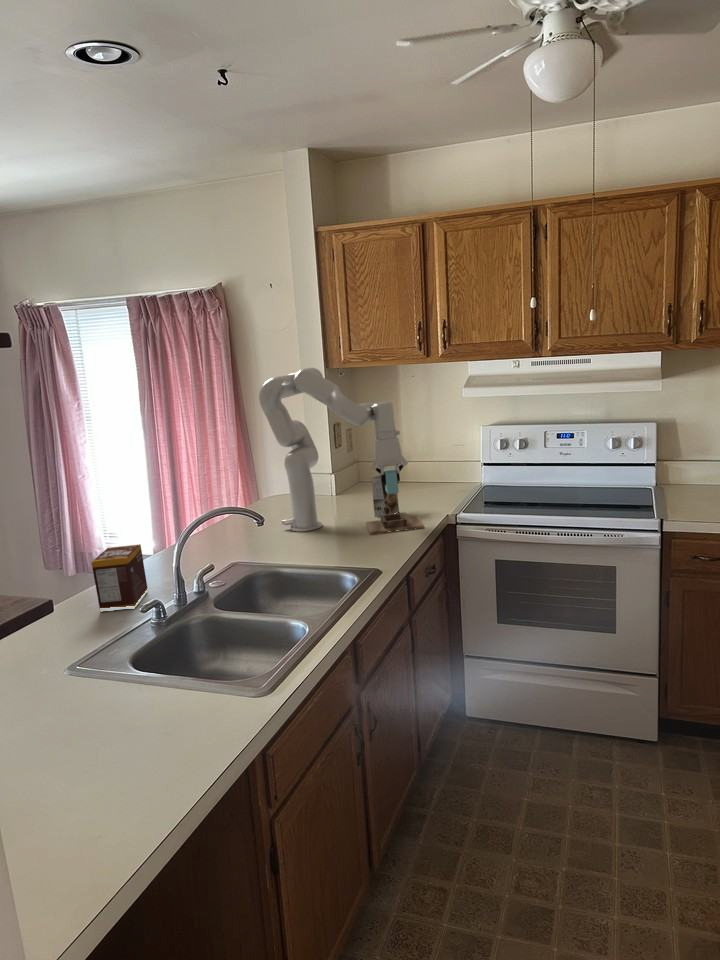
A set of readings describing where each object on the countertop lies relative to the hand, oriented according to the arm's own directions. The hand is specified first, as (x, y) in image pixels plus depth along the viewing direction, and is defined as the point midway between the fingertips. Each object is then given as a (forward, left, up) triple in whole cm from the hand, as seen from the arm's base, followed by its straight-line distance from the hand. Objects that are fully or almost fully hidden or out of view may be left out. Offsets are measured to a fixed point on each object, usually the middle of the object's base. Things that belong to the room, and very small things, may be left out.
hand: (391, 483), depth 270 cm
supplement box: (-89, -51, -17) cm, 104 cm away
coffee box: (0, +20, -17) cm, 26 cm away
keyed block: (0, 0, -3) cm, 3 cm away
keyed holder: (0, 0, -17) cm, 17 cm away
